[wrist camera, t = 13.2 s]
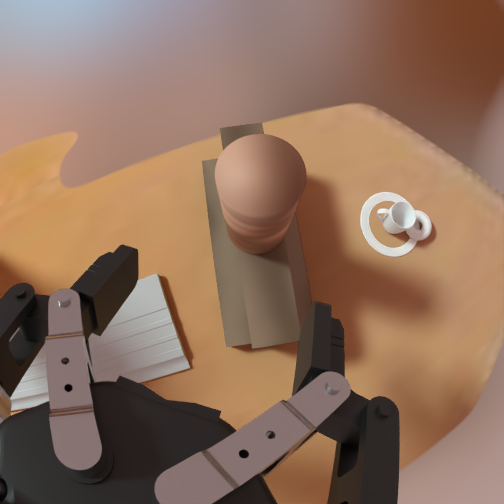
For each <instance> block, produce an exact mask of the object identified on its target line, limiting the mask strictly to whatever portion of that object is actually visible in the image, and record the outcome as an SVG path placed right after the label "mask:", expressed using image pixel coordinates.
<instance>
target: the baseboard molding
mask: <svg viewBox="0 0 504 504" xmlns="http://www.w3.org/2000/svg"><path fill="white" fill-rule="evenodd" d="M18 330H19V328H18V329H17V331H18ZM17 331H16V332H17ZM16 332H15V333H14V334H13V336H14V335H15V334H16ZM13 336H12V337H11V339H12V338H13ZM11 339H10V340H11ZM9 342H10V341H9ZM89 343H90V350H91V356H92V362H93V368H94V373H95V378H96V382H100V381H115V382H116V381H117V379H118V377H119V375H120V376H123V377H125V378H127V379H130V380H132V381H135V382H137V383H141V382H144V381H148V380H151V379H155V378H158V377H162V376H165V375H169V374H172V373H175V372H179V371H182V370H185V369H189V368H191V367H190V364H189V361H188V359H187V356H186V353H185V351H184V348H183V345H182V342H181V339H180V337H179V334H178V331H177V328H176V325H175V322H174V319H173V316H172V313H171V310H170V307H169V304H168V301H167V298H166V295H165V292H164V288H163V285H162V282H161V279H160V276H159V274H154V275H151V276H149V277H146V278H143V279H140V280H138V281H137V284H136V287H135V288H134V290H133V291H132V293H131V294H130V295H129V297H128V298H127V299H126V301H125V302H124V304H123V305H122V306H121V308H120V309H119V311H118V312H117V313H116V315H115V316H114V318H113V319H112V320H111V322H110V323H109V325H108V326H107V328H106V329H105V331H104V332H103V333H102V335H101V336H98V335H95V334H93V333H92V334H91V335H90V337H89ZM10 399H11V403H12V408H11V411H13V410H19V409H25V408H31V407H35V406H37V405H40V404H42V403H45V402H47V401H49V393H48V383H47V369H46V350H45V344H44V346H43V347H42V349H41V350H40V352H39V353H38V355H37V356H36V358H35V359H34V361H33V362H32V364H31V365H30V367H29V368H28V370H27V372H26V373H25V375H24V376H23V378H22V379H21V381H20V383H19V384H18V386H17V388H16V389H15V391H14V393H13V394H12V396H11V398H10Z"/></svg>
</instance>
